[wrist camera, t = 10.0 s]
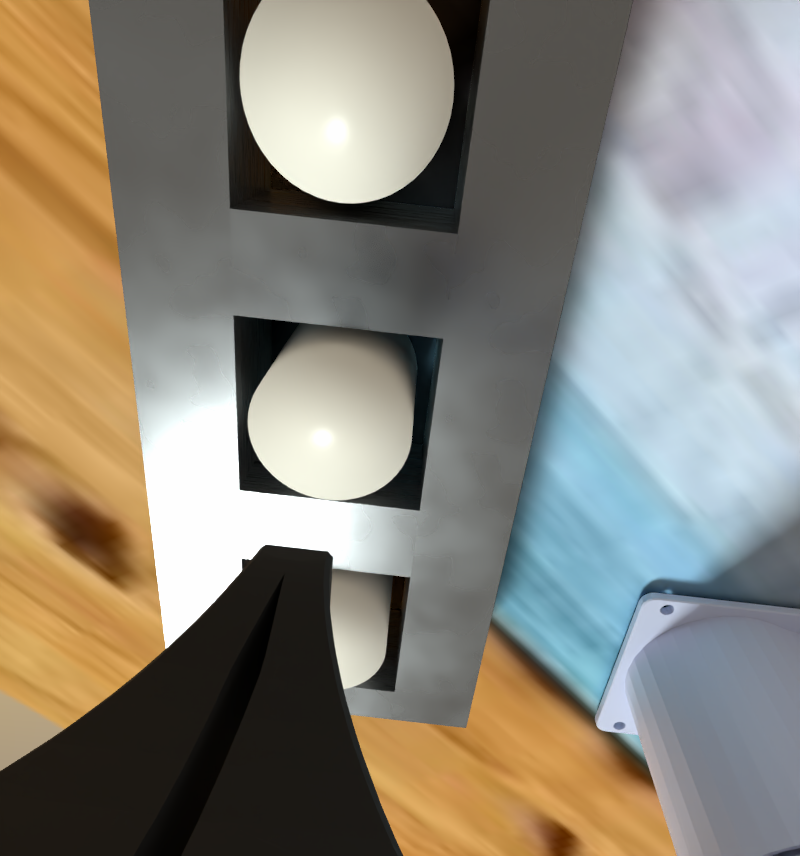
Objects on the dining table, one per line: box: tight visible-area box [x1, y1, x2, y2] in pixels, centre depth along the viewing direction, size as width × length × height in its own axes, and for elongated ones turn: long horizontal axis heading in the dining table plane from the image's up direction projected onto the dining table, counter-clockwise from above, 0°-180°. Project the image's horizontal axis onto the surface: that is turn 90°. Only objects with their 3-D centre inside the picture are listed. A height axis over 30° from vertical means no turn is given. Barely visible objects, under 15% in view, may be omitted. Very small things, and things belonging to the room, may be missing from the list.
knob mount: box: [89, 0, 633, 728], centre depth 19 cm, size 11×24×4 cm, turn 174°
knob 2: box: [330, 569, 393, 689], centre depth 22 cm, size 4×4×4 cm
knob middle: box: [248, 323, 417, 500], centre depth 18 cm, size 4×4×4 cm
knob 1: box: [240, 0, 454, 203], centre depth 14 cm, size 4×4×4 cm
